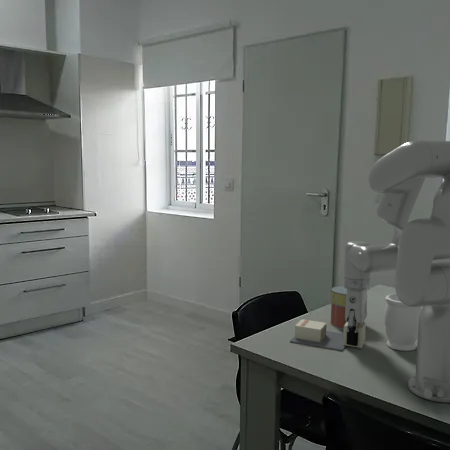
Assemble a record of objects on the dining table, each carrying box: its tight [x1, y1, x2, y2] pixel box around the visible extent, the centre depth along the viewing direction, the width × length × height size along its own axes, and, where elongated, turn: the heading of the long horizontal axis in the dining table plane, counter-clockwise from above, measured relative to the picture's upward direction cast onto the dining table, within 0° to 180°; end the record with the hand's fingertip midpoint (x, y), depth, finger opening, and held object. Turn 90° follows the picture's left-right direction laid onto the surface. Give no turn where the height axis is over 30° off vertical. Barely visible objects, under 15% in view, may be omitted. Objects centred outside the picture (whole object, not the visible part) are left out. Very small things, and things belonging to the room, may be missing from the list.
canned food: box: [329, 285, 365, 330], centre depth 168 cm, size 11×11×12 cm
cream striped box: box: [294, 318, 327, 342], centre depth 156 cm, size 7×8×4 cm
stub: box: [343, 321, 367, 349], centre depth 150 cm, size 6×5×6 cm
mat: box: [289, 330, 346, 352], centre depth 155 cm, size 14×16×1 cm
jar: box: [383, 293, 422, 352], centre depth 148 cm, size 11×10×15 cm
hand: (354, 340), depth 150 cm, fingers closed on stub, 5 cm apart
